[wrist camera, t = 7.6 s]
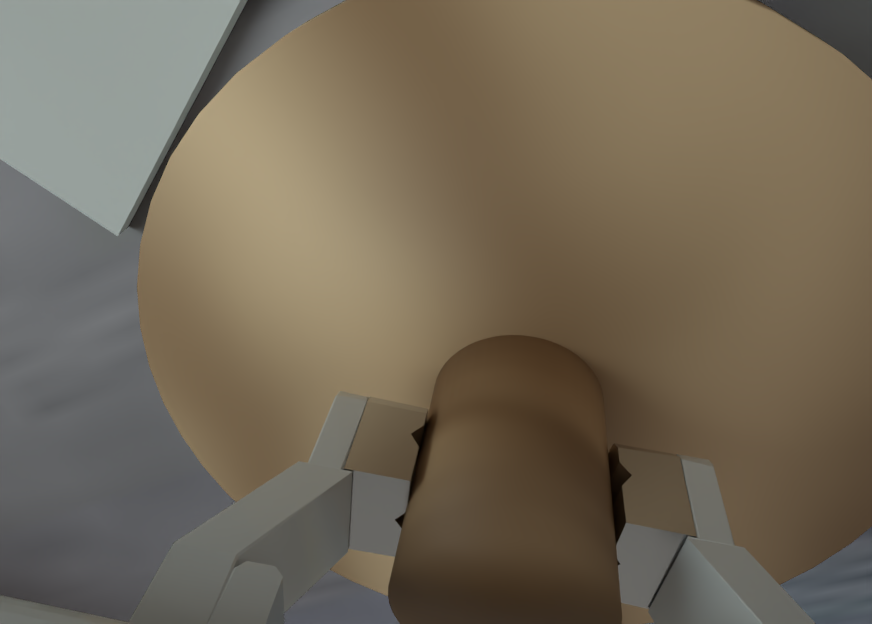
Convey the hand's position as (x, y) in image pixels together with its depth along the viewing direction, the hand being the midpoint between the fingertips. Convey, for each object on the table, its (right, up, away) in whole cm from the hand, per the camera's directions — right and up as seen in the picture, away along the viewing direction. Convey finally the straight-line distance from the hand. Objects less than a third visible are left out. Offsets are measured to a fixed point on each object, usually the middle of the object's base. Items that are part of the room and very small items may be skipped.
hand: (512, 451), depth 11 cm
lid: (0, +1, +2) cm, 2 cm away
